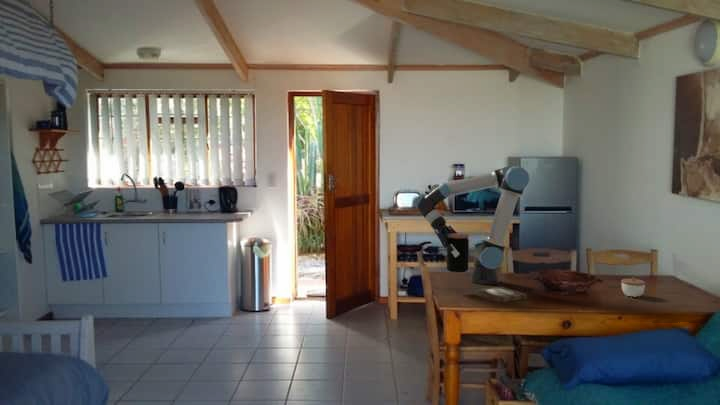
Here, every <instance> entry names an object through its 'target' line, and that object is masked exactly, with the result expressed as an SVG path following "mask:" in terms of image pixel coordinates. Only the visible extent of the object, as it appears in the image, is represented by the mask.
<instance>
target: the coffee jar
mask: <svg viewBox="0 0 720 405" xmlns="http://www.w3.org/2000/svg"><path fill="white" fill-rule="evenodd" d="M447 236H448V239H449V242H450V244H452V245H453V246H454V247H455V249H456V250H457V251H458V252H459V255H458V256H457V257H456V258H455V256H454V255H453V254H452V253H451V251H450V250H449V249H448V247H447V248H446V269H447V271H448V272H451V273H466V272H467V271H468V270H469V252H470V251H469V250H470V249H469V247H470V246H469V244H470V242H469V241H470V240H469V237H470V235H469V234H467V233H458V232H457V233H452V234H448V235H447Z"/></svg>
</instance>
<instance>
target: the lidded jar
mask: <svg viewBox="0 0 720 405" xmlns="http://www.w3.org/2000/svg"><path fill="white" fill-rule="evenodd" d="M645 289H646V281H644V280H641V279H638V278H635V277H632V278H623V279H621V290H622V293H623V294H624V295H625V296H626V295H627V296H634V297H636V296H639V297H641V296H642V295H643V293H644V292H645ZM627 296H626V297H627Z"/></svg>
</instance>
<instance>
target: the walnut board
mask: <svg viewBox="0 0 720 405" xmlns="http://www.w3.org/2000/svg"><path fill="white" fill-rule="evenodd" d="M473 295H475V296H478V297H480V298H482V299H483V298H484V299H486V300H489V301H492V302H495V303H497V304H498V303H506V302H513V301H519V300H526V299H528V294H527V293H524V292H520V291H517V290H515V289H514V290H513V289H510V288H507V287H504V286H495V287H487V288H478V289H473Z"/></svg>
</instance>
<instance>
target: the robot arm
mask: <svg viewBox="0 0 720 405" xmlns="http://www.w3.org/2000/svg"><path fill="white" fill-rule="evenodd" d="M529 182H530V175H529V173H528V171H527V170H526V169H525V168H524V167H522V166H519V165H518V166H517V165H508V166H505V167H502V168H499V169H498V168H497V169H494V170H492V171H491V172H490V173H486V174H480V175H476V176H473V177H472V176H471V177H466V178H463V179H458V180H454V181H448V182H442V183H441V182H440V183H439V184H434V185H432V186H431V188H430V190H429V192H428V194H425V193H420V194H419V195H417V196H416V197H415V198H414V200H413V205H414V206H415V208H416V209H417V210H418V212H419V213H420V214H421V215H422V217H424V219H425V221H426V222H427V223H428V224H429V225H430V227H431V228H432V230H434V233H435V235H436V236H437V238H438V239H439V242H441V245H442V247H444V248H445V249H447V247H448V249H449V250H450V251H451V253H452V254H453V255H454V256H455V258H456V257H457V256H458V255H459V252H458V251H457V250H456V249H455V247H454V246H453V245H452V244H450V242H449V239H448V236H447V235H448V234H452V233H458V232H457V231H456V230H455V229H454V228H453V227H452V226H451V225H449V226H447V225H446V224H447V220H446V219H445V217H443V216H442V214H441V213H440V211H438V209H437V208H436V207H437V206H439V204H441V203H442V202H444V201H445V200H446V199H447V198H449V197H455V196H459V195H464V194H467V193H472V192H476V191H481V190H486V189H490V188H495V189H499V191H500V192H501V194H500V197H499V200H498V203H497V206H496V209H495V213H494V215H493V217H492V218H493V219H492V222H491V225H490V229H489V232H488V235H487V237H485V238H484V239H476V240H474V257H473V258H474V259H473V260H474V261H473V269H472V272H471V275H470V280H469V281H470V282H472V283H474V284H480V285H497V284H499V282H500V278H499V275H498V270H497V268H500V266H502V264H503V263H504V260H505V256H504V253H505V250H506V247H507V246H506V244H505V241H506V240H505V239H506V237H507V234H508V230H509V227H510V224H511V221H512V217H513V215H514V212H515V208H516V206H517V202H518V199H519V197H522V196H523V193H524V190H525V188H526V187H527V186H528V184H529ZM469 252H471V250H470V249H469Z"/></svg>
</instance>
